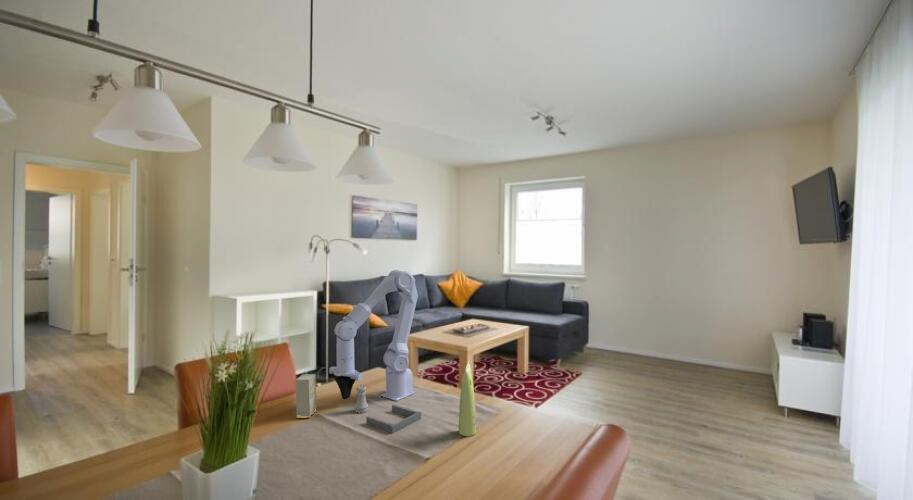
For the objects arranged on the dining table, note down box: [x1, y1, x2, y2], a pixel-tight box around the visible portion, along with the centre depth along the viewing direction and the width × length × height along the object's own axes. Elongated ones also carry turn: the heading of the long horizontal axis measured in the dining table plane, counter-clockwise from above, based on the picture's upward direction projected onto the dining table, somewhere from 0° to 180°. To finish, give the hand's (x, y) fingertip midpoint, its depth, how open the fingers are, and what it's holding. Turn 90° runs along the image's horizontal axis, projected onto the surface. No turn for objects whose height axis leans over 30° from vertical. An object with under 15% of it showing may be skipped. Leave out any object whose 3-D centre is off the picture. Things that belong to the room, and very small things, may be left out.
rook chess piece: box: [354, 384, 370, 413], centre depth 135 cm, size 4×4×8 cm
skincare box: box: [295, 373, 318, 416], centre depth 132 cm, size 6×4×12 cm
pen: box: [365, 404, 422, 434], centre depth 127 cm, size 12×11×2 cm
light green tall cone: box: [458, 360, 477, 437], centre depth 118 cm, size 6×5×20 cm
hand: (345, 398), depth 140 cm, fingers closed
